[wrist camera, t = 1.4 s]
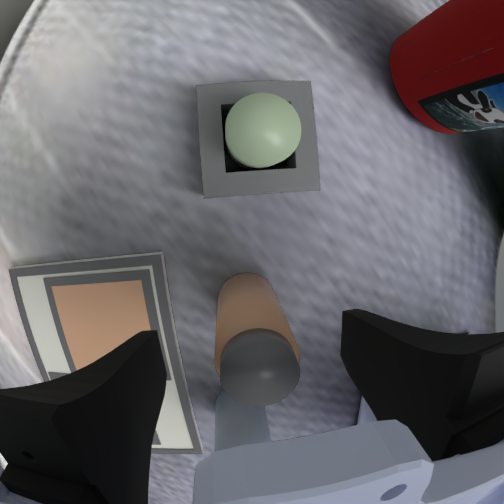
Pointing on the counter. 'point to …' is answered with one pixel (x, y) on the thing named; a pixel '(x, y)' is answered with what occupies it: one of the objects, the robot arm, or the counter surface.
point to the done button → (262, 130)
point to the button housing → (261, 181)
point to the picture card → (106, 326)
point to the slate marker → (239, 423)
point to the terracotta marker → (254, 343)
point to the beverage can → (454, 67)
